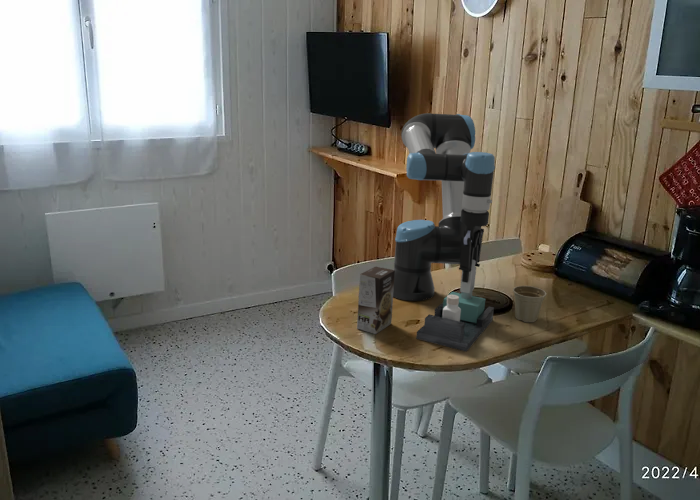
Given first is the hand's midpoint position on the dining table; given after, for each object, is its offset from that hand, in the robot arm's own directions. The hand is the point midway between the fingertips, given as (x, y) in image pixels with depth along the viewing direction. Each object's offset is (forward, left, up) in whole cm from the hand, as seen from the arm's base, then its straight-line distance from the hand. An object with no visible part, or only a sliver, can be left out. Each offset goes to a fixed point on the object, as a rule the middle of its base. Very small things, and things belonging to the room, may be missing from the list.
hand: (467, 289), depth 173 cm
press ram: (0, -1, -7) cm, 7 cm away
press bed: (0, -7, -10) cm, 12 cm away
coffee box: (-20, -18, -10) cm, 29 cm away
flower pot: (+15, +12, -10) cm, 22 cm away
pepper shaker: (0, -12, -8) cm, 15 cm away
